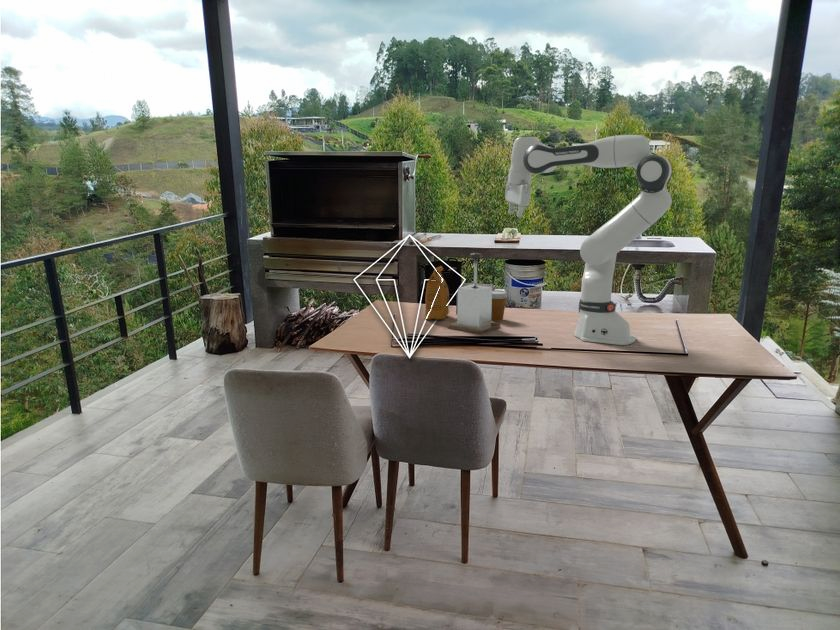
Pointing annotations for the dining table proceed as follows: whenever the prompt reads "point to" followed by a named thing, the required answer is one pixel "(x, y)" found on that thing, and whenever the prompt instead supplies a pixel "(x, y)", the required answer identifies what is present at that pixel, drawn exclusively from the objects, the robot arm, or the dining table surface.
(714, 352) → the dining table surface
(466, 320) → the block
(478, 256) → the plunger
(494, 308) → the disposable coffee cup
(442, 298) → the coffee package
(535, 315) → the dining table surface
